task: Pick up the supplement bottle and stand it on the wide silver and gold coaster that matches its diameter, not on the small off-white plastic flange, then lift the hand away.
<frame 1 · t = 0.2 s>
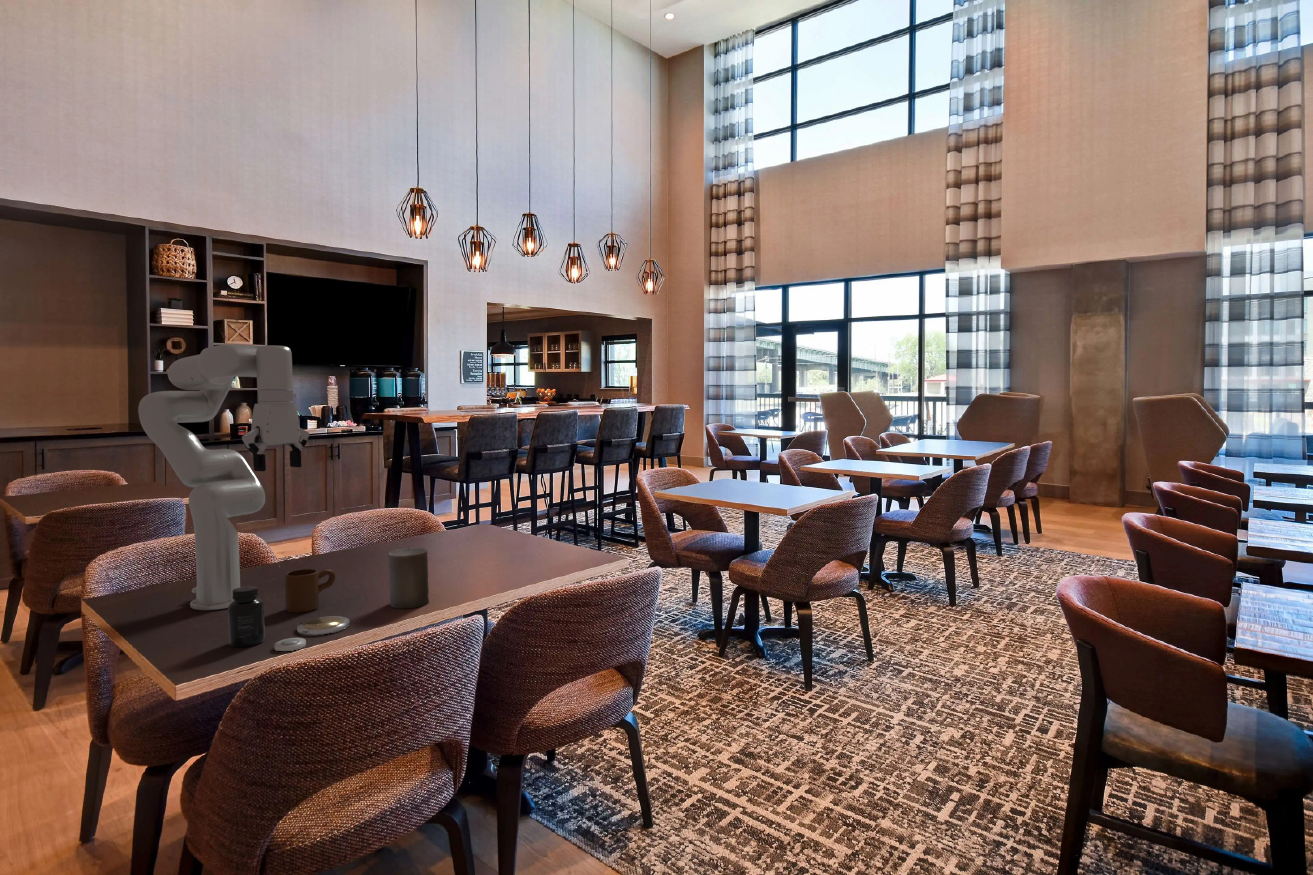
hand: (278, 468, 171), 36 cm above the table, tool pointing down, fingers open, 9 cm apart
pillar candle: (409, 604, 185), on the table
plastic flange: (290, 647, 153), on the table
silver and gold coaster: (323, 627, 166), on the table
mug: (311, 608, 182), on the table
supplement bottle: (247, 643, 156), on the table
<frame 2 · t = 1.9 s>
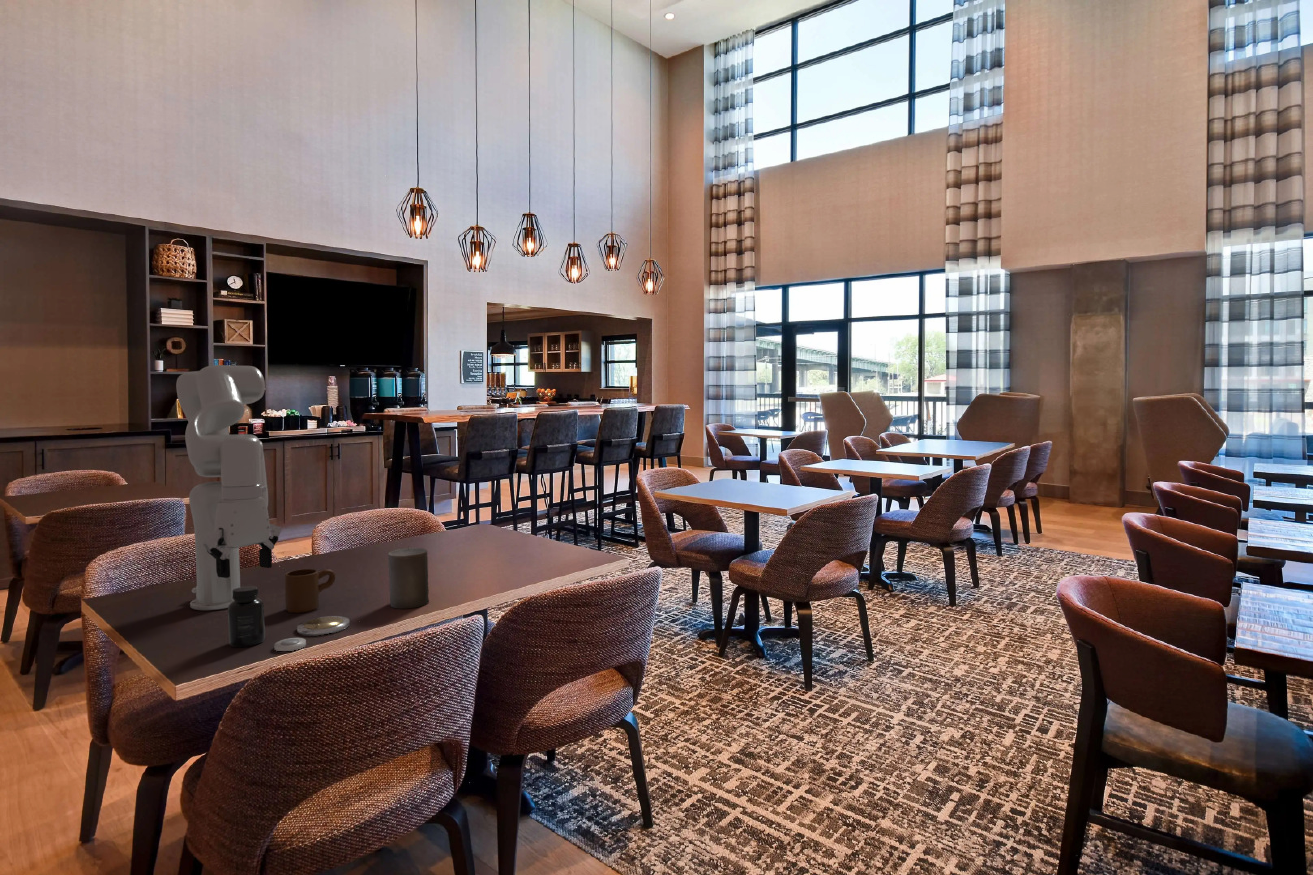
hand: (245, 572, 155), 16 cm above the table, tool pointing down, fingers open, 9 cm apart
nothing on the table moved.
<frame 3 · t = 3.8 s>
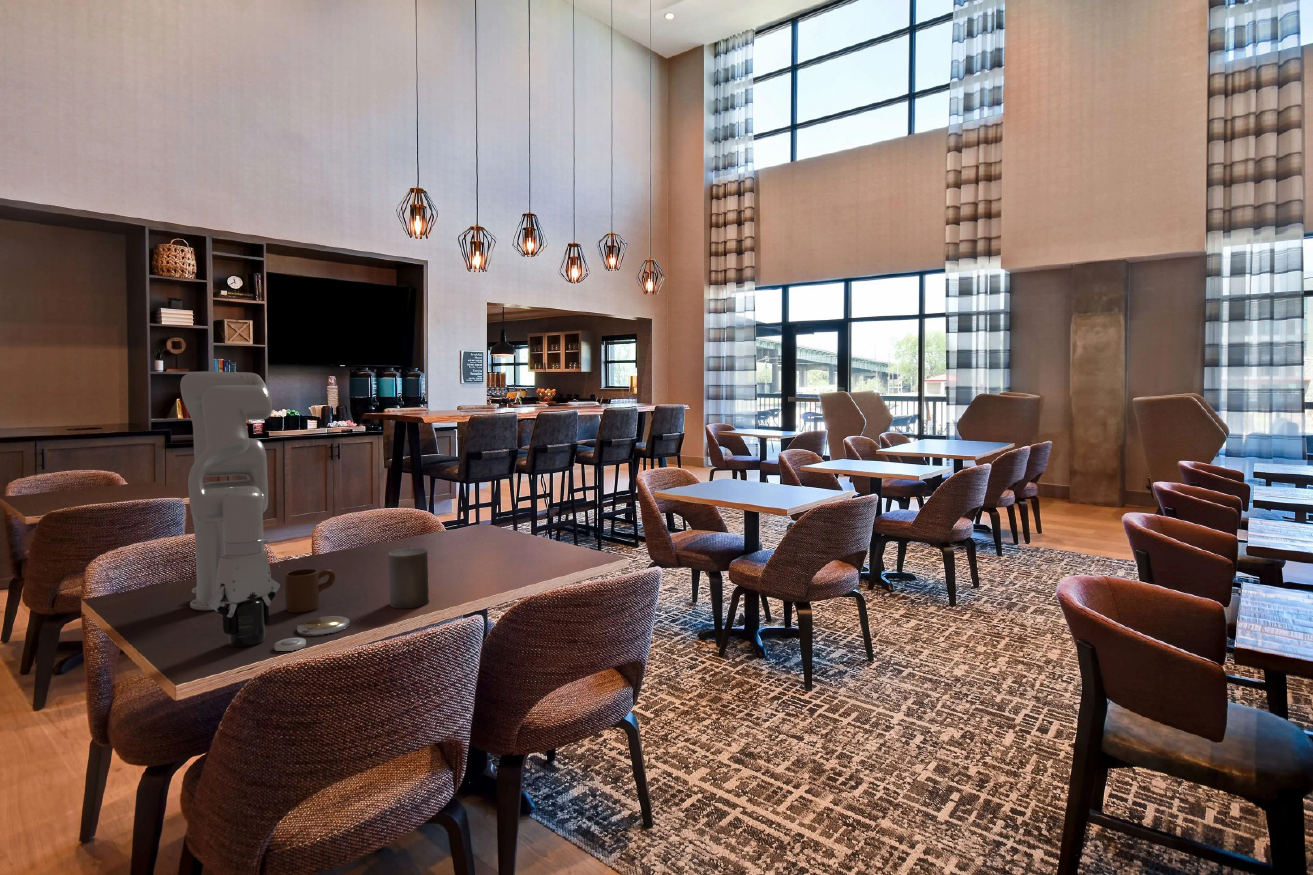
hand: (246, 627, 156), 3 cm above the table, tool pointing down, fingers closed on supplement bottle, 6 cm apart
supplement bottle: (247, 643, 156), on the table, touching gripper
everything else where it was.
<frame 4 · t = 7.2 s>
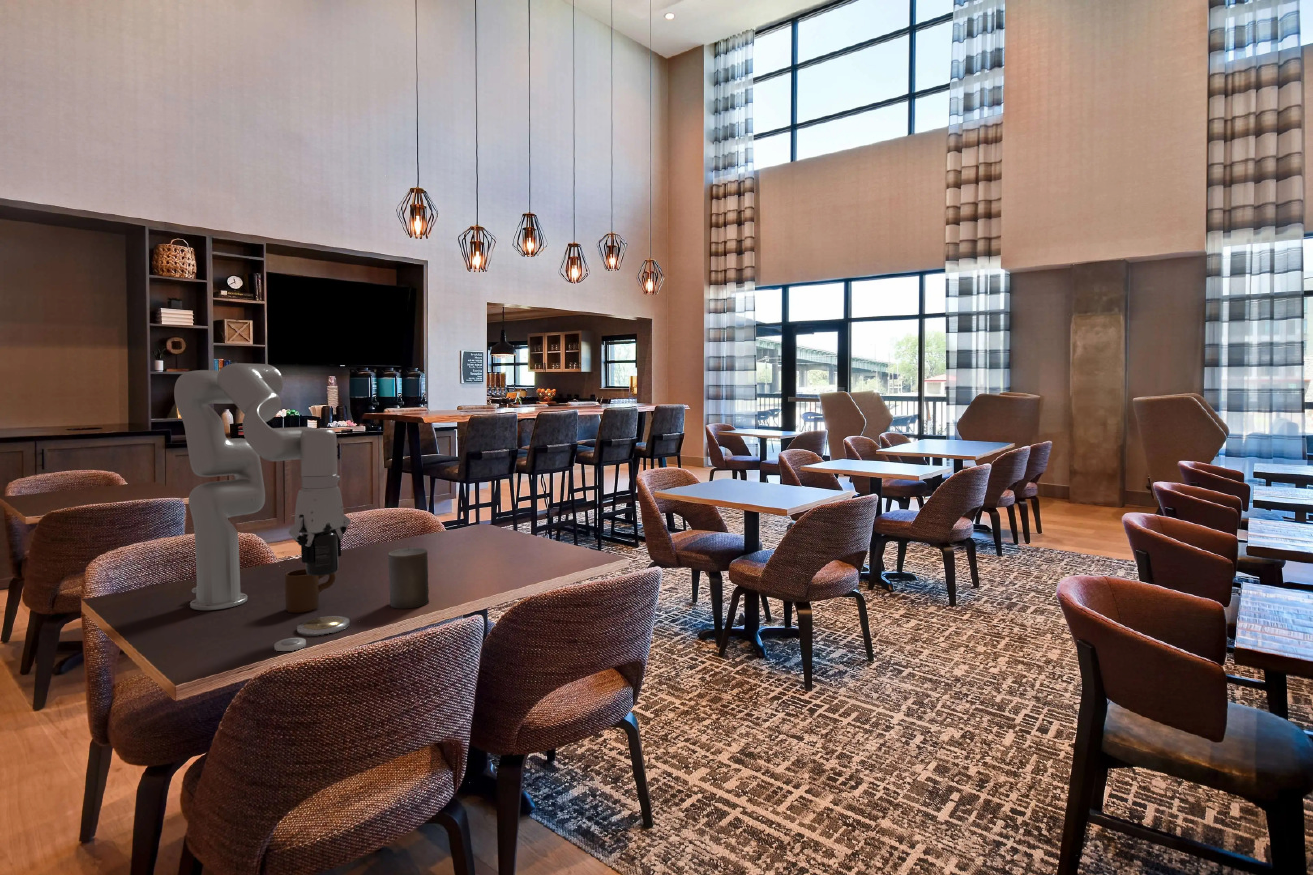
hand: (321, 558, 165), 16 cm above the table, tool pointing down, fingers closed on supplement bottle, 6 cm apart
supplement bottle: (322, 573, 165), point 13 cm above the table, touching gripper
everything else where it was.
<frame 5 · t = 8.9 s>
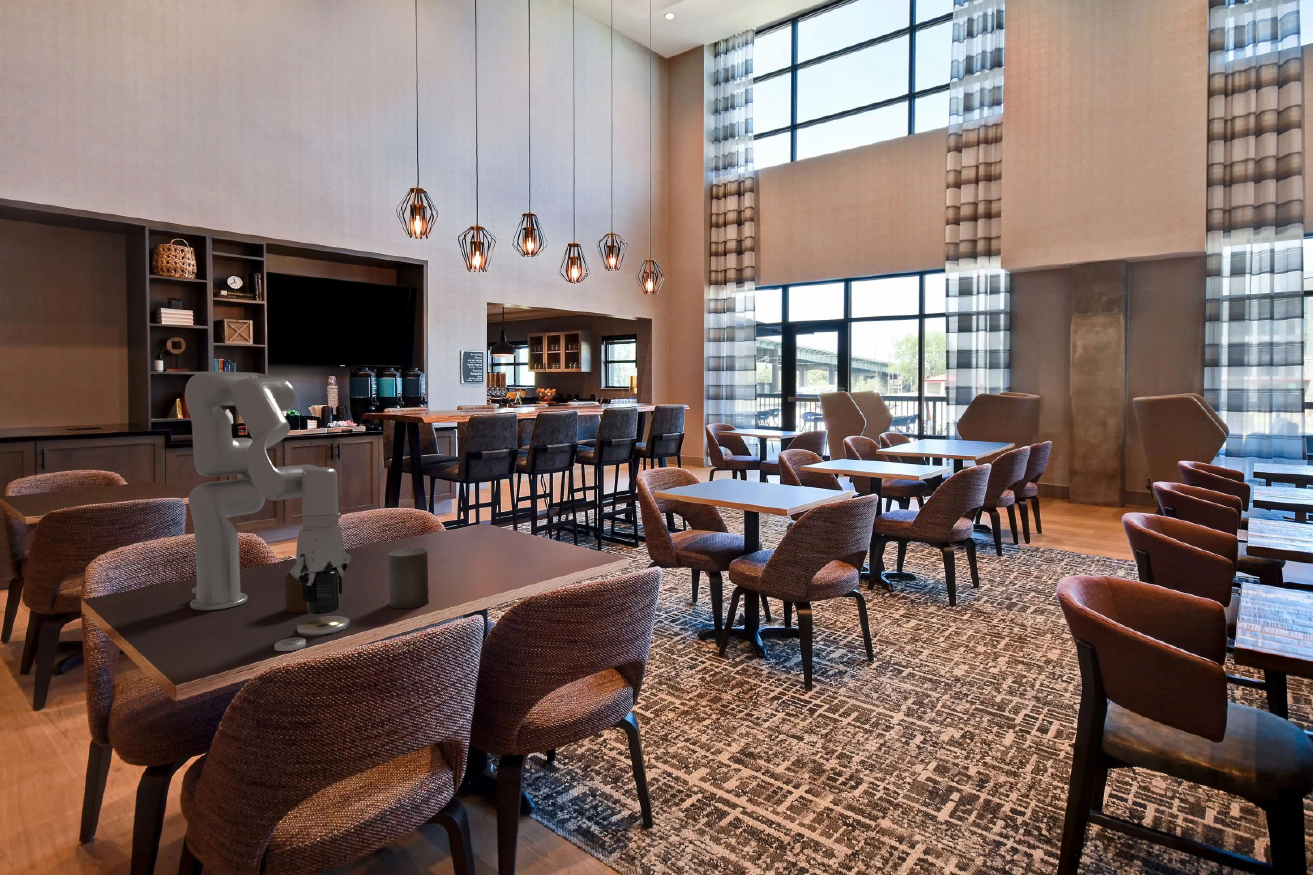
hand: (322, 596, 165), 7 cm above the table, tool pointing down, fingers closed on supplement bottle, 6 cm apart
supplement bottle: (323, 611, 166), point 4 cm above the table, touching gripper
everything else where it was.
when the fingers open (6 cm above the table, at t = 10.4 s): supplement bottle drops 1 cm, resting on silver and gold coaster.
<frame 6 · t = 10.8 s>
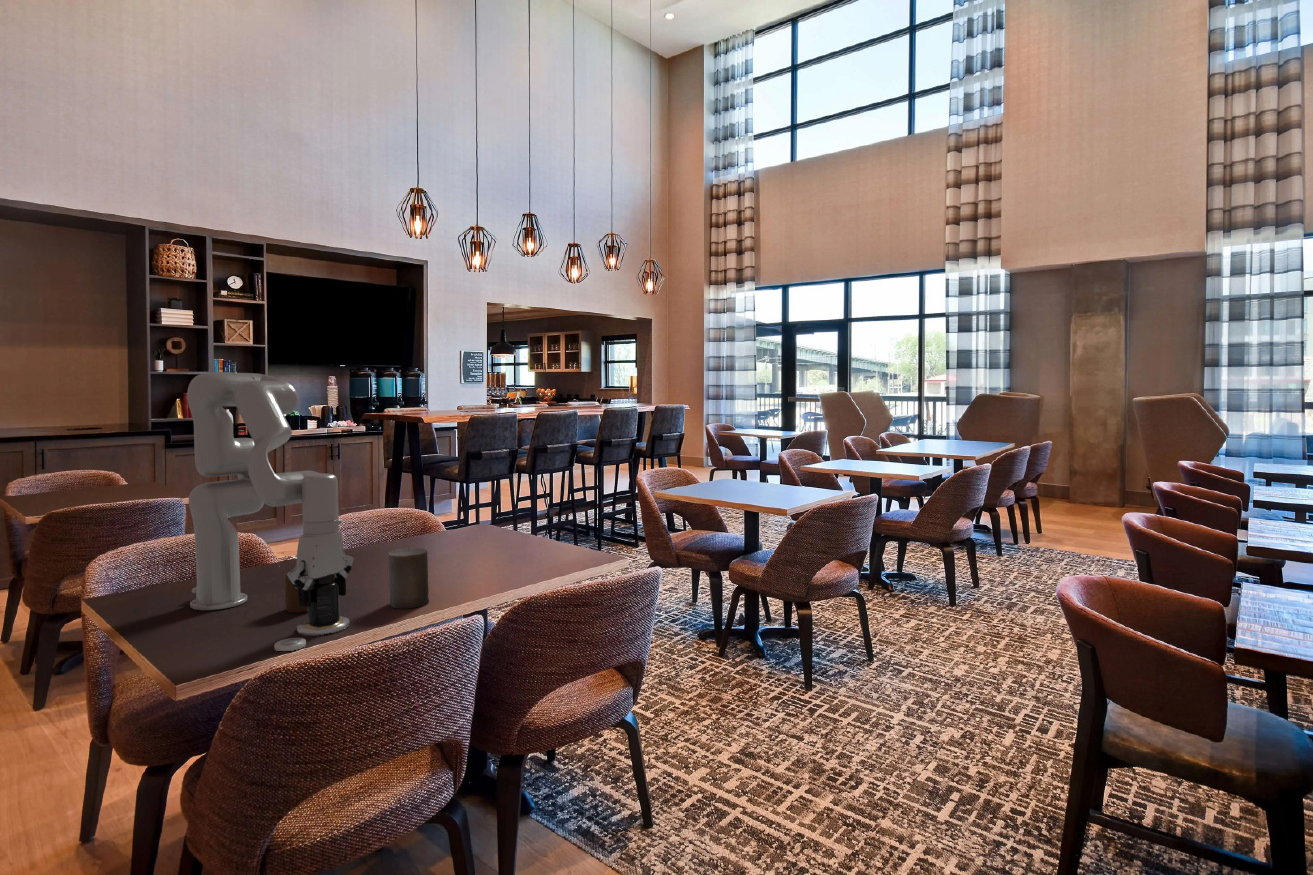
hand: (323, 600, 165), 6 cm above the table, tool pointing down, fingers open, 9 cm apart
supplement bottle: (324, 623, 166), point 1 cm above the table, touching silver and gold coaster
everything else where it was.
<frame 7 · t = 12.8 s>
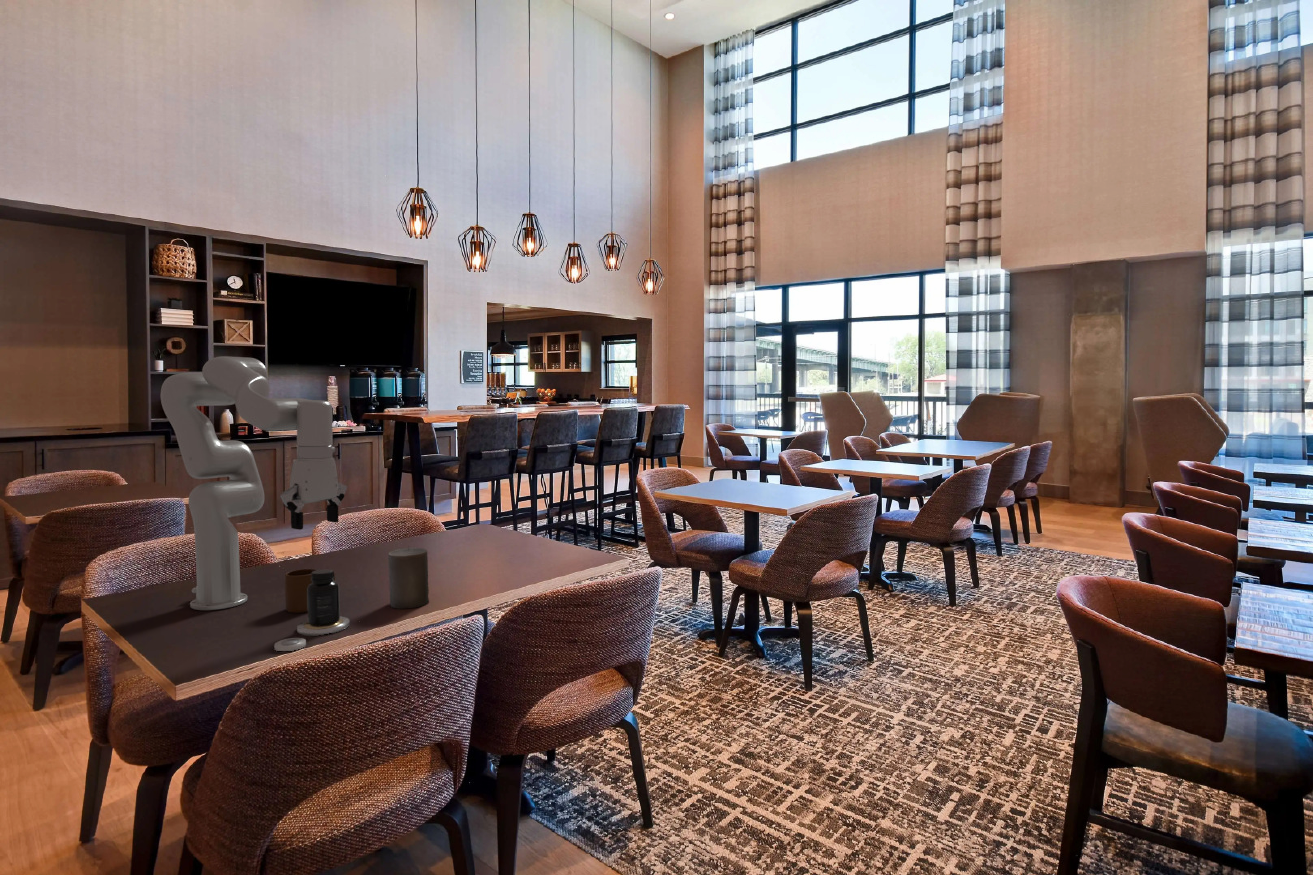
hand: (315, 525, 168), 23 cm above the table, tool pointing down, fingers open, 9 cm apart
nothing on the table moved.
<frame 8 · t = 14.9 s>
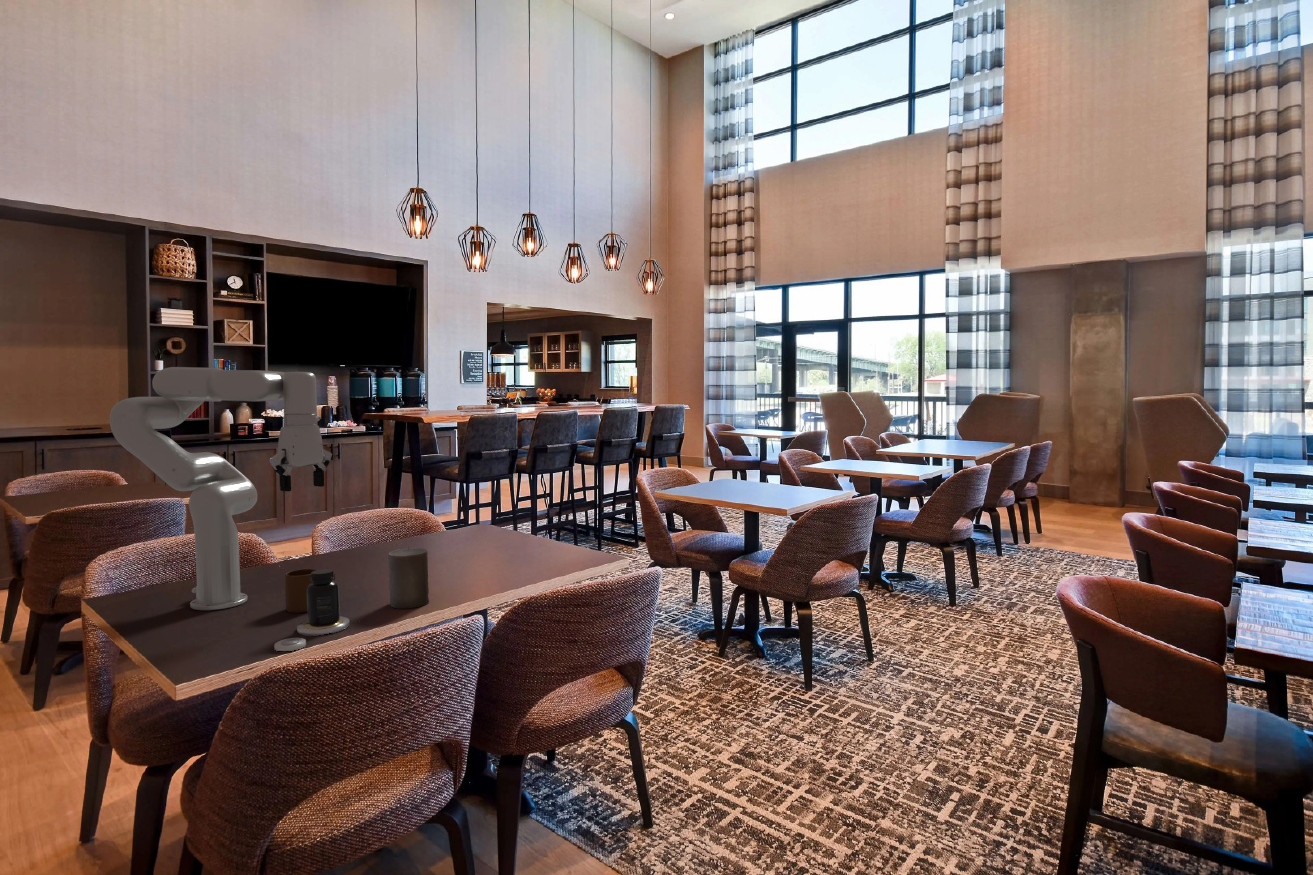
hand: (302, 488, 180), 30 cm above the table, tool pointing down, fingers open, 9 cm apart
nothing on the table moved.
at the end: supplement bottle 0.3 cm off-centre on the silver and gold coaster, point 1.0 cm above the silver and gold coaster's base; supplement bottle tilted 0°; the gripper is holding nothing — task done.
